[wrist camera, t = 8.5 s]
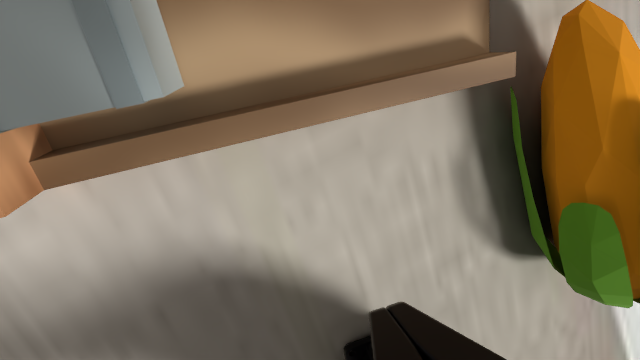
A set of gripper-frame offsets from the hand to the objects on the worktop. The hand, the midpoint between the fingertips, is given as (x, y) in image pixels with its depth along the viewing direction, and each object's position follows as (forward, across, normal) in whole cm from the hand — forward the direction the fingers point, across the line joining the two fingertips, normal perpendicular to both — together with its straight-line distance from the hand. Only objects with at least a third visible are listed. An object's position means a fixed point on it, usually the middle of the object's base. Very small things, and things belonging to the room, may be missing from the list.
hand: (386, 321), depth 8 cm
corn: (+12, -17, +4) cm, 21 cm away
